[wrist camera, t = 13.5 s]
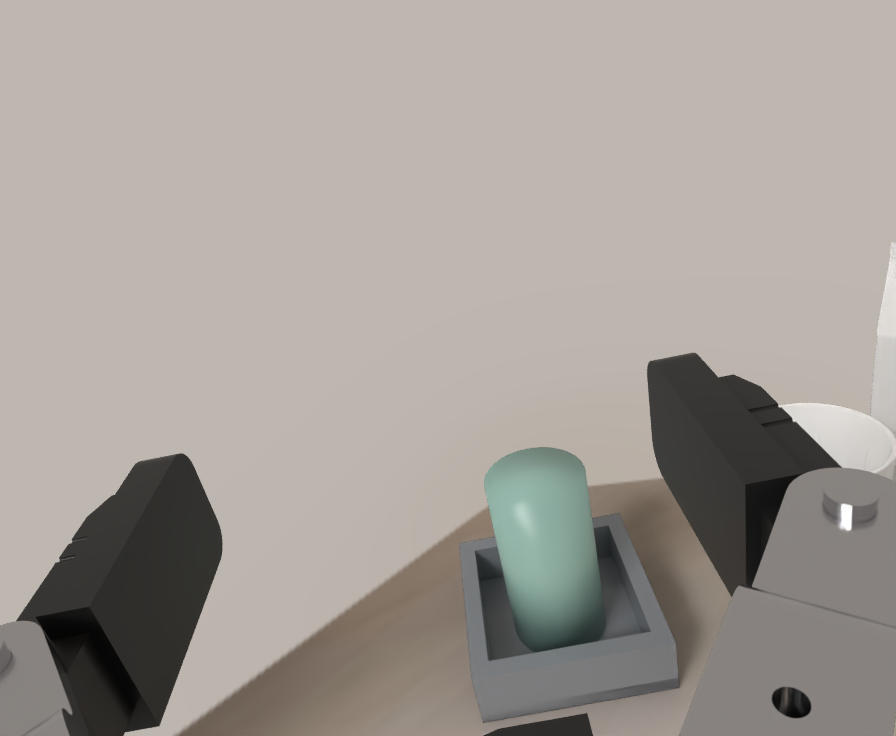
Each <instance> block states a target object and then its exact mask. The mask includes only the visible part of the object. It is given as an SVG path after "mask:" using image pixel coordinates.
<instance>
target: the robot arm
mask: <svg viewBox="0 0 896 736" xmlns="http://www.w3.org/2000/svg"><path fill="white" fill-rule="evenodd" d="M647 377H648V390H649V402H650V403H649V404H650V416H651V427H652V428H651V429H652V441H653V447H654V453H655V457H656V460H657V463H658V467H659V469H660V472H661V474H662V476H663V478H664V480H665V482H666V483H667V485H668V487H669V488H670V490H671V492H672V494H673V495H674V497H675V499H676V501H677V502H678V504H679V506H680V508H681V509H682V511H683V513H684V515H685V516H686V518H687V520H688V522H689V523H690V525H691V527H692V529H693V530H694V532H695V534H696V536H697V537H698V539H699V541H700V543H701V544H702V546H703V548H704V550H705V551H706V553H707V555H708V557H709V558H710V560H711V562H712V563H713V565H714V567H715V569H716V570H717V572H718V574H719V576H720V577H721V579H722V581H723V583H724V584H725V586H726V588H727V590H728V591H729V593H730V595H731V597H732V599H731V601H730V604H729V606H728V609H727V611H726V614H725V617H724V619H723V622H722V624H721V627H720V630H719V632H718V635H717V638H716V640H715V643H714V645H713V648H712V651H711V653H710V656H709V658H708V661H707V664H706V666H705V669H704V671H703V674H702V677H701V679H700V682H699V685H698V687H697V690H696V692H695V695H694V698H693V700H692V703H691V705H690V708H689V711H688V713H687V716H686V718H685V721H684V724H683V726H682V729H681V732H680V734H679V736H893V732H894V724H895V716H896V482H894V481H892V480H890V479H888V478H886V477H884V476H881V475H878V474H875V473H872V472H868V471H864V470H859V469H852V468H842V467H841V466H840V465H839V464H838V463H837V462H836V461H835V460H834V459H833V458H832V457H831V456H830V455H829V454H828V453H827V452H826V451H825V450H824V449H823V448H822V447H821V446H820V445H819V444H818V443H817V442H816V441H815V440H814V439H813V438H812V437H811V436H810V435H809V434H808V433H807V432H806V431H805V430H804V429H803V428H802V427H801V426H800V425H799V424H798V423H797V422H793V420H792V417H791V416H790V415H789V414H788V413H787V412H786V411H785V410H784V409H783V408H782V407H779V406H778V403H777V402H776V401H775V400H774V399H773V398H772V397H771V396H770V395H769V394H768V393H767V392H766V391H765V390H764V389H763V388H762V387H760V386H758V385H756V384H754V383H751V382H749V381H747V380H744V379H742V378H740V377H737V376H736V375H729V376H724V377H719V378H718V377H717V376H716V374H715V373H714V372H713V371H712V370H711V369H710V368H709V367H708V366H707V364H706V363H705V362H704V361H703V360H702V359H701V358H700V357H699V356H698V355H697V354H696V353H689V354H684V355H679V356H674V357H669V358H664V359H659V360H654V361H650V362H649V364H648V369H647ZM221 556H222V535H221V529H220V526H219V523H218V520H217V518H216V516H215V514H214V511H213V509H212V507H211V505H210V502H209V500H208V498H207V496H206V493H205V491H204V489H203V486H202V484H201V482H200V480H199V477H198V475H197V473H196V470H195V468H194V466H193V464H192V462H191V461H190V459H189V458H188V457H187V456H186V455H184V454H175V455H170V456H165V457H160V458H155V459H150V460H145V461H140V462H138V463H136V464H135V465H134V467H133V468H132V470H131V471H130V473H129V474H128V476H127V477H126V479H125V480H124V482H123V484H122V485H121V486H120V488H119V490H118V491H117V493H116V494H115V495H113V496H111V497H110V498H108V499H107V500H106V501H105V502H104V503H103V504H102V505H100V506H99V507H98V508H97V509H96V510H95V511H93V512H92V513H91V514H90V515H89V516H88V517H87V518H86V519H85V521H84V522H83V524H82V525H81V527H80V528H79V530H78V531H77V532H76V534H75V535H74V537H73V538H72V543H71V544H69V545H68V546H67V547H66V549H65V550H64V552H63V553H62V555H61V556H60V557H59V559H60V562H58V563H55V565H54V566H53V568H52V569H51V571H50V572H49V574H48V575H47V577H46V578H45V579H44V581H43V582H42V584H41V585H40V587H39V588H38V590H37V591H36V593H35V594H34V596H33V597H32V599H31V600H30V602H29V603H28V604H27V606H26V607H25V609H24V610H23V612H22V613H21V615H20V616H19V618H18V619H17V621H16V622H11V623H7V624H4V625H1V626H0V736H123V735H124V733H125V732H129V731H135V730H140V729H146V728H151V727H157V726H159V725H160V723H161V720H162V717H163V715H164V712H165V709H166V706H167V704H168V701H169V698H170V696H171V693H172V690H173V687H174V685H175V682H176V679H177V677H178V674H179V671H180V669H181V666H182V663H183V660H184V658H185V655H186V652H187V650H188V647H189V644H190V641H191V639H192V636H193V633H194V630H195V628H196V625H197V622H198V619H199V617H200V614H201V612H202V609H203V606H204V603H205V601H206V598H207V595H208V593H209V590H210V587H211V584H212V582H213V579H214V576H215V574H216V571H217V568H218V565H219V563H220V560H221ZM484 736H593V734H592V730H591V726H590V722H589V718H588V715H587V713H586V714H580V715H575V716H569V717H563V718H558V719H552V720H546V721H541V722H535V723H529V724H524V725H518V726H512V727H507V728H501V729H498V730H495V731H493V732H491V733H488V734H486V735H484Z"/></svg>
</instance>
